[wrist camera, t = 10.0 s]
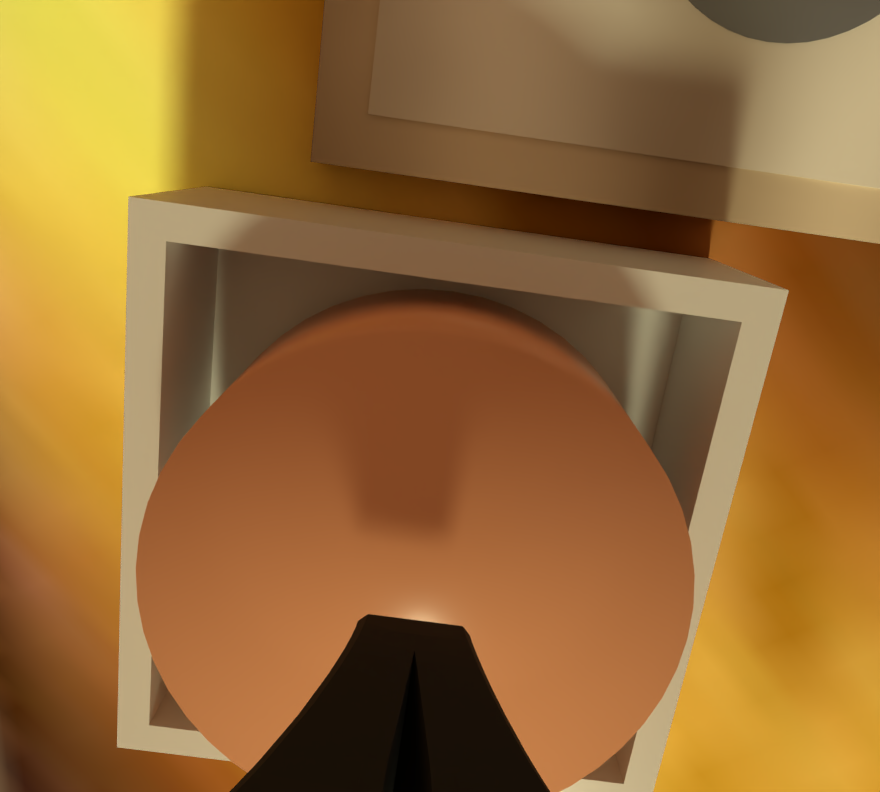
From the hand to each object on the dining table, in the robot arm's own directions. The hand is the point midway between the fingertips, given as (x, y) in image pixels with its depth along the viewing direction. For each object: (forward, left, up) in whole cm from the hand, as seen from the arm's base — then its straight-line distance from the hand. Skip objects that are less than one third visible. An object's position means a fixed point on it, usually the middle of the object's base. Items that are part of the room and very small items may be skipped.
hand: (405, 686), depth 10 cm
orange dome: (0, 0, -5) cm, 5 cm away
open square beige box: (0, 0, -8) cm, 8 cm away
